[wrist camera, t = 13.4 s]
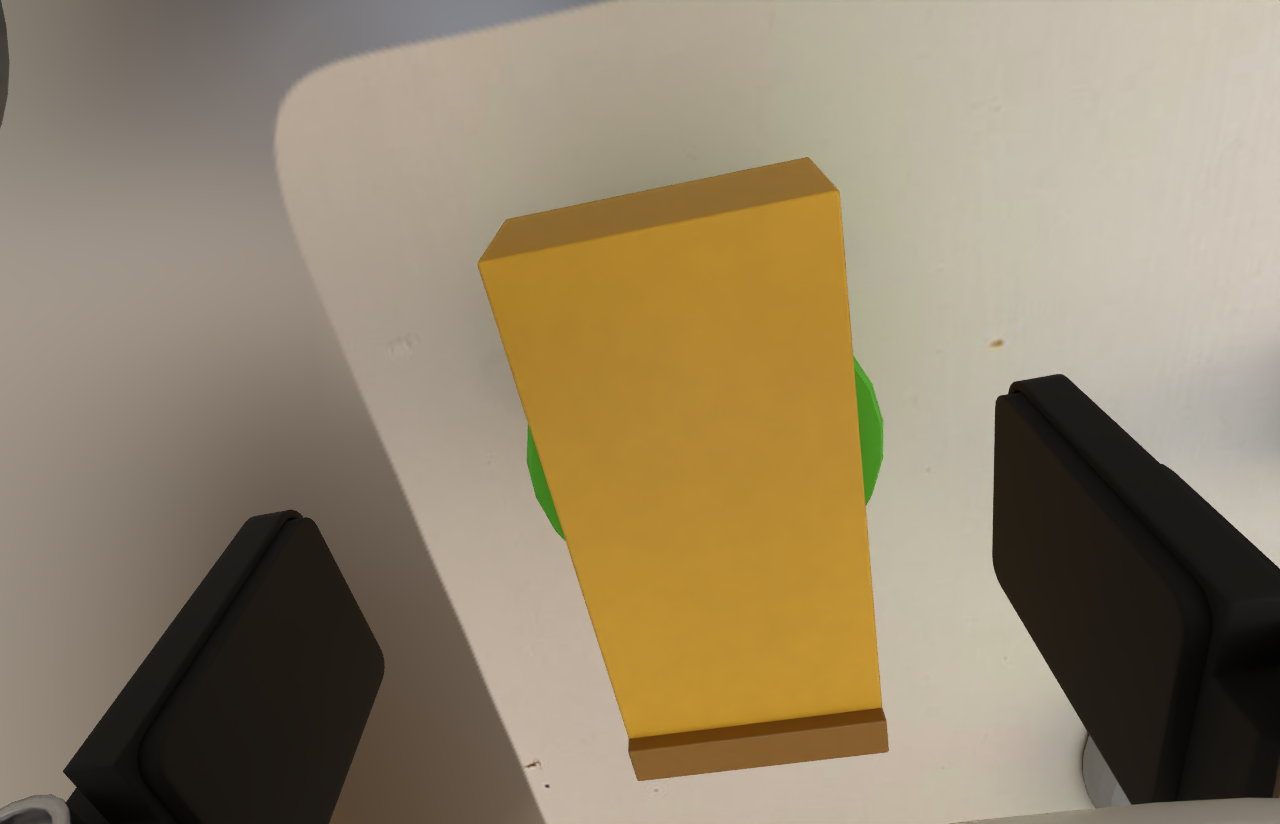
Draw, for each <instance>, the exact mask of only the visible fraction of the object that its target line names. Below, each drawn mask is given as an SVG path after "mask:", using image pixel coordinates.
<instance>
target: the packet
mask: <svg viewBox="0 0 1280 824" xmlns="http://www.w3.org/2000/svg"><path fill="white" fill-rule="evenodd" d="M478 268H479V271H480V274H481V277H482V280H483V283H484V287H485V290H486V293H487V296H488V299H489V302H490V305H491V308H492V312H493V315H494V318H495V321H496V324H497V327H498V330H499V333H500V337H501V340H502V343H503V346H504V349H505V352H506V355H507V358H508V362H509V365H510V368H511V371H512V374H513V377H514V380H515V384H516V387H517V390H518V393H519V396H520V399H521V402H522V405H523V409H524V412H525V415H526V418H527V421H528V424H529V427H530V430H531V434H532V437H533V440H534V443H535V446H536V449H537V452H538V456H539V459H540V462H541V465H542V468H543V471H544V474H545V477H546V481H547V484H548V487H549V490H550V493H551V496H552V499H553V502H554V506H555V509H556V512H557V515H558V518H559V521H560V524H561V528H562V531H563V534H564V537H565V540H566V543H567V546H568V549H569V553H570V556H571V559H572V562H573V565H574V568H575V571H576V574H577V578H578V581H579V584H580V587H581V590H582V593H583V596H584V599H585V603H586V606H587V609H588V612H589V615H590V618H591V621H592V625H593V628H594V631H595V634H596V637H597V640H598V643H599V646H600V650H601V653H602V656H603V659H604V662H605V665H606V668H607V671H608V675H609V678H610V681H611V684H612V687H613V690H614V693H615V697H616V700H617V703H618V706H619V709H620V712H621V715H622V718H623V722H624V725H625V728H626V731H627V734H628V737H629V748H628V752H629V756H630V759H631V762H632V765H633V768H634V771H635V774H636V777H637V780H638V781H644V780H653V779H661V778H670V777H678V776H687V775H696V774H704V773H713V772H721V771H730V770H738V769H747V768H756V767H764V766H773V765H781V764H790V763H799V762H807V761H816V760H824V759H833V758H842V757H850V756H859V755H867V754H876V753H884V752H888V750H889V748H888V735H887V723H886V718H885V715H884V712H883V708H882V700H881V688H880V676H879V664H878V652H877V639H876V627H875V615H874V603H873V591H872V579H871V567H870V555H869V543H868V531H867V518H866V506H865V494H864V482H863V470H862V458H861V446H860V434H859V422H858V410H857V397H856V385H855V373H854V361H853V349H852V337H851V325H850V313H849V301H848V288H847V276H846V264H845V252H844V240H843V228H842V216H841V204H840V192H839V191H838V189H837V188H836V187H835V186H834V185H833V184H832V183H831V181H830V180H829V179H828V178H827V177H826V176H825V175H824V174H823V173H822V171H821V170H820V169H819V168H818V167H817V166H816V165H815V164H814V163H813V161H812V160H811V159H810V158H808V157H806V158H801V159H796V160H791V161H786V162H781V163H777V164H772V165H767V166H762V167H757V168H752V169H748V170H743V171H738V172H733V173H728V174H724V175H719V176H714V177H709V178H704V179H699V180H695V181H690V182H685V183H680V184H675V185H670V186H666V187H661V188H656V189H651V190H646V191H641V192H637V193H632V194H627V195H622V196H617V197H612V198H608V199H603V200H598V201H593V202H588V203H583V204H579V205H574V206H569V207H564V208H559V209H554V210H550V211H545V212H540V213H535V214H530V215H525V216H521V217H516V218H511V219H507V220H505V222H504V223H503V225H502V226H501V228H500V230H499V231H498V233H497V234H496V236H495V237H494V239H493V240H492V242H491V243H490V245H489V246H488V248H487V249H486V251H485V252H484V254H483V255H482V257H481V258H480V260H479V262H478Z"/></svg>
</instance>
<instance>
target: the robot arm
mask: <svg viewBox="0 0 1280 824" xmlns="http://www.w3.org/2000/svg"><path fill="white" fill-rule="evenodd" d="M992 557H993V565H994V570H995V573H996V576H997V579H998V581H999V583H1000V585H1001V587H1002V589H1003V590H1004V592H1005V594H1006V595H1007V597H1008V599H1009V600H1010V602H1011V604H1012V605H1013V607H1014V609H1015V611H1016V612H1017V614H1018V616H1019V617H1020V619H1021V621H1022V622H1023V624H1024V626H1025V627H1026V629H1027V631H1028V632H1029V634H1030V636H1031V637H1032V639H1033V641H1034V642H1035V644H1036V646H1037V647H1038V649H1039V651H1040V652H1041V654H1042V656H1043V658H1044V659H1045V661H1046V663H1047V664H1048V666H1049V668H1050V669H1051V671H1052V673H1053V674H1054V676H1055V678H1056V679H1057V681H1058V683H1059V684H1060V686H1061V688H1062V689H1063V691H1064V693H1065V694H1066V696H1067V698H1068V699H1069V701H1070V703H1071V704H1072V706H1073V708H1074V710H1075V711H1076V713H1077V715H1078V716H1079V718H1080V720H1081V721H1082V723H1083V725H1084V726H1085V728H1086V730H1087V731H1088V733H1089V735H1090V736H1091V738H1092V740H1093V741H1094V743H1095V745H1096V746H1097V748H1098V750H1099V751H1100V753H1101V755H1102V757H1103V758H1104V760H1105V762H1106V763H1107V765H1108V767H1109V768H1110V770H1111V772H1112V773H1113V775H1114V777H1115V778H1116V780H1117V782H1118V783H1119V785H1120V787H1121V788H1122V790H1123V792H1124V793H1125V795H1126V797H1127V798H1128V800H1129V802H1130V803H1131V805H1127V806H1117V807H1106V808H1096V809H1086V810H1076V811H1066V812H1056V813H1046V814H1036V815H1025V816H1015V817H1005V818H995V819H985V820H976V821H968V822H959V823H950V824H1280V569H1279V568H1278V567H1277V566H1276V565H1275V564H1274V563H1273V562H1272V561H1271V560H1270V559H1269V558H1267V557H1266V556H1265V555H1264V554H1263V553H1262V552H1261V551H1260V550H1259V549H1258V548H1257V547H1256V546H1254V545H1253V544H1252V543H1251V542H1250V541H1249V540H1248V539H1247V538H1246V537H1245V536H1244V535H1242V534H1241V533H1240V532H1239V531H1238V530H1237V529H1236V528H1235V527H1234V526H1233V525H1232V524H1230V523H1229V522H1228V521H1227V520H1226V519H1225V518H1224V517H1223V516H1222V515H1221V514H1220V513H1218V512H1217V511H1216V510H1215V509H1214V508H1213V507H1212V506H1211V505H1210V504H1209V503H1208V502H1207V501H1205V500H1204V499H1203V498H1202V497H1201V496H1200V495H1199V494H1198V493H1197V492H1196V491H1195V490H1193V489H1192V488H1191V487H1190V486H1189V485H1188V484H1187V483H1186V482H1185V481H1184V480H1183V479H1181V478H1180V477H1179V476H1178V475H1177V474H1176V473H1175V472H1174V471H1172V470H1171V469H1169V468H1168V467H1166V466H1165V465H1164V464H1160V463H1159V462H1158V461H1157V460H1156V459H1155V458H1153V457H1152V456H1151V455H1150V454H1149V453H1148V452H1147V451H1146V450H1145V449H1144V448H1143V447H1142V446H1141V445H1139V444H1138V443H1137V442H1136V441H1135V440H1134V439H1133V438H1132V437H1131V436H1130V435H1129V434H1128V433H1127V432H1125V431H1124V430H1123V429H1122V428H1121V427H1120V426H1119V425H1118V424H1117V423H1116V422H1115V421H1114V420H1112V419H1111V418H1110V417H1109V416H1108V415H1107V414H1106V413H1105V412H1104V411H1103V410H1102V409H1101V408H1100V407H1098V406H1097V405H1096V404H1095V403H1094V402H1093V401H1092V400H1091V399H1090V398H1089V397H1088V396H1087V395H1086V394H1084V393H1083V392H1082V391H1081V390H1080V389H1079V388H1078V387H1077V386H1076V385H1075V384H1074V383H1073V382H1072V381H1070V380H1069V379H1068V378H1067V377H1066V376H1064V375H1062V374H1056V375H1050V376H1045V377H1039V378H1033V379H1028V380H1022V381H1017V382H1014V383H1012V384H1011V386H1010V389H1009V392H1008V394H1007V395H1002V396H999V397H998V398H997V400H996V406H995V446H994V497H993V548H992ZM383 675H384V657H383V653H382V651H381V649H380V647H379V645H378V643H377V641H376V639H375V637H374V635H373V633H372V631H371V629H370V627H369V625H368V623H367V622H366V620H365V618H364V616H363V614H362V612H361V610H360V608H359V606H358V604H357V602H356V600H355V599H354V596H353V594H352V593H351V591H350V589H349V587H348V585H347V583H346V581H345V579H344V577H343V575H342V573H341V571H340V569H339V567H338V565H337V564H336V562H335V560H334V558H333V556H332V554H331V552H330V550H329V548H328V546H327V544H326V542H325V540H324V538H323V537H322V535H321V533H320V531H319V529H318V527H317V525H316V524H315V522H314V521H313V520H312V519H310V518H303V516H302V515H301V514H300V513H298V512H297V511H294V510H287V511H281V512H276V513H270V514H264V515H258V516H254V517H251V518H250V519H248V520H247V521H246V522H245V524H244V525H243V526H242V528H241V529H240V530H239V532H238V533H237V534H236V536H235V537H234V539H233V540H232V541H231V543H230V544H229V545H228V547H227V548H226V549H225V551H224V552H223V554H222V555H221V556H220V558H219V559H218V560H217V562H216V563H215V564H214V566H213V567H212V569H211V570H210V571H209V573H208V574H207V576H206V577H205V578H204V580H203V581H202V582H201V584H200V585H199V586H198V588H197V589H196V590H195V592H194V593H193V595H192V596H191V597H190V599H189V600H188V601H187V603H186V604H185V605H184V607H183V608H182V609H181V611H180V612H179V614H178V615H177V616H176V618H175V619H174V620H173V622H172V623H171V624H170V626H169V627H168V629H167V630H166V631H165V633H164V634H163V635H162V637H161V638H160V639H159V641H158V642H157V644H156V645H155V646H154V648H153V649H152V650H151V652H150V653H149V655H148V656H147V657H146V659H145V660H144V661H143V663H142V664H141V665H140V667H139V668H138V669H137V671H136V672H135V674H134V675H133V676H132V678H131V679H130V681H129V682H128V683H127V685H126V686H125V687H124V689H123V690H122V691H121V693H120V694H119V695H118V697H117V698H116V699H115V701H114V702H113V704H112V705H111V706H110V708H109V709H108V710H107V712H106V713H105V715H104V716H103V717H102V719H101V720H100V721H99V723H98V724H97V725H96V727H95V728H94V730H93V731H92V732H91V734H90V735H89V736H88V738H87V739H86V740H85V742H84V743H83V745H82V746H81V747H80V749H79V750H78V752H77V753H76V754H75V755H74V757H73V758H72V760H71V761H70V762H69V764H68V765H67V766H66V768H65V769H64V770H63V772H64V773H65V775H66V776H67V777H68V778H69V779H70V780H71V781H72V782H73V783H74V785H76V787H77V788H76V789H75V791H74V792H73V793H72V795H71V796H70V798H69V799H68V800H67V802H65V801H64V800H63V799H61V798H58V797H56V796H54V795H52V794H49V795H34V796H31V797H27V798H25V799H21V800H18V801H15V802H12V803H10V804H8V805H6V806H5V807H3V808H1V809H0V824H329V822H330V819H331V816H332V813H333V811H334V808H335V805H336V803H337V800H338V798H339V795H340V792H341V789H342V787H343V784H344V781H345V779H346V776H347V773H348V771H349V768H350V765H351V763H352V760H353V757H354V754H355V752H356V749H357V746H358V743H359V741H360V738H361V735H362V733H363V730H364V728H365V725H366V722H367V719H368V716H369V714H370V711H371V709H372V706H373V703H374V700H375V697H376V695H377V692H378V690H379V687H380V684H381V682H382V679H383Z"/></svg>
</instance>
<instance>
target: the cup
mask: <svg viewBox="0 0 1280 824" xmlns="http://www.w3.org/2000/svg"><path fill="white" fill-rule="evenodd" d="M853 361H854V373H855V385H856V397H857V410H858V422H859V434H860V446H861V458H862V470H863V482H864V494H865V506H866V505H867V503H868V501H869V500H870V498H871V496H872V493H873V490H874V486H875V483H876V480H877V476H878V473H879V469H880V466H881V462H882V459H883V419H882V416H881V412H880V409H879V406H878V402H877V399H876V396H875V392H874V389H873V385H872V383H871V382H870V380H869V378H868V377H867V375H866V374H865V372H864V371H863V369H862V368H861V366H860V365H859V363H858V362H857V360H856V359H855V357H854V356H853ZM527 464H528V468H529V472H530V476H531V480H532V483H533V487H534V491H535V495H536V498H537V500H538V501H539V503H540V505H541V506H542V508H543V510H544V512H545V513H546V515H547V517H548V519H549V520H550V522H551V524H552V526H553V527H554V529H555V530H556V532H557V533H558V534H559V535H560V536H561V537H562V538H563V539H564V540H565V537H564V534H563V531H562V528H561V524H560V521H559V518H558V515H557V512H556V509H555V506H554V502H553V499H552V496H551V493H550V490H549V487H548V484H547V481H546V477H545V474H544V471H543V468H542V465H541V462H540V459H539V456H538V452H537V449H536V446H535V443H534V440H533V437H532V434H531V430H530V427H529V424H528V443H527ZM565 541H566V540H565Z"/></svg>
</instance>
